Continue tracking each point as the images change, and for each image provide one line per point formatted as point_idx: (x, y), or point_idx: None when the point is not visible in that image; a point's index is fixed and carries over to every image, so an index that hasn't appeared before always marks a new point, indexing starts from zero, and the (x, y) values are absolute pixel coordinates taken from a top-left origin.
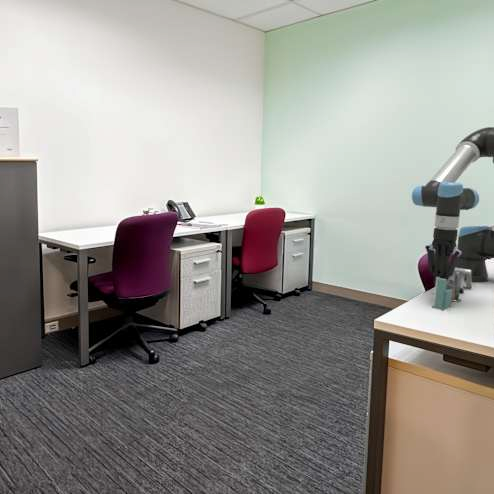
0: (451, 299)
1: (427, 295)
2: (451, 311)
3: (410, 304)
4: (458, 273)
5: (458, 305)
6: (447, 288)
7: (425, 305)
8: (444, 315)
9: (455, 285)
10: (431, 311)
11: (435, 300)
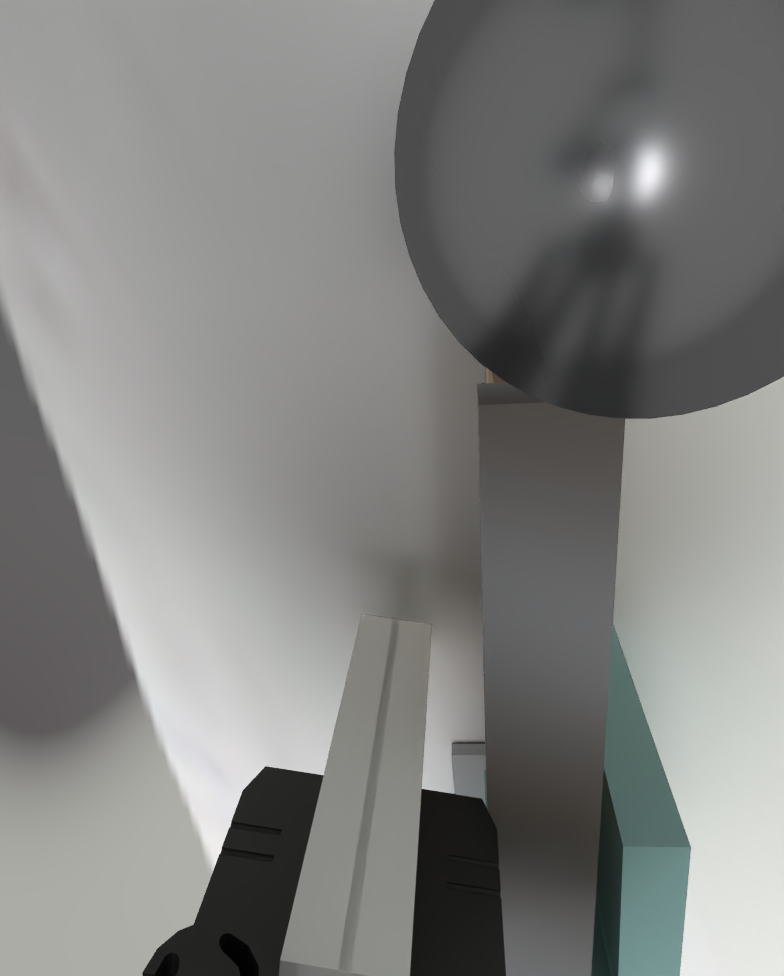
0: (637, 697)
1: (53, 292)
2: (699, 807)
3: None
4: (747, 378)
5: (678, 470)
6: (592, 888)
7: None
8: (688, 971)
9: (616, 476)
10: None
11: None
